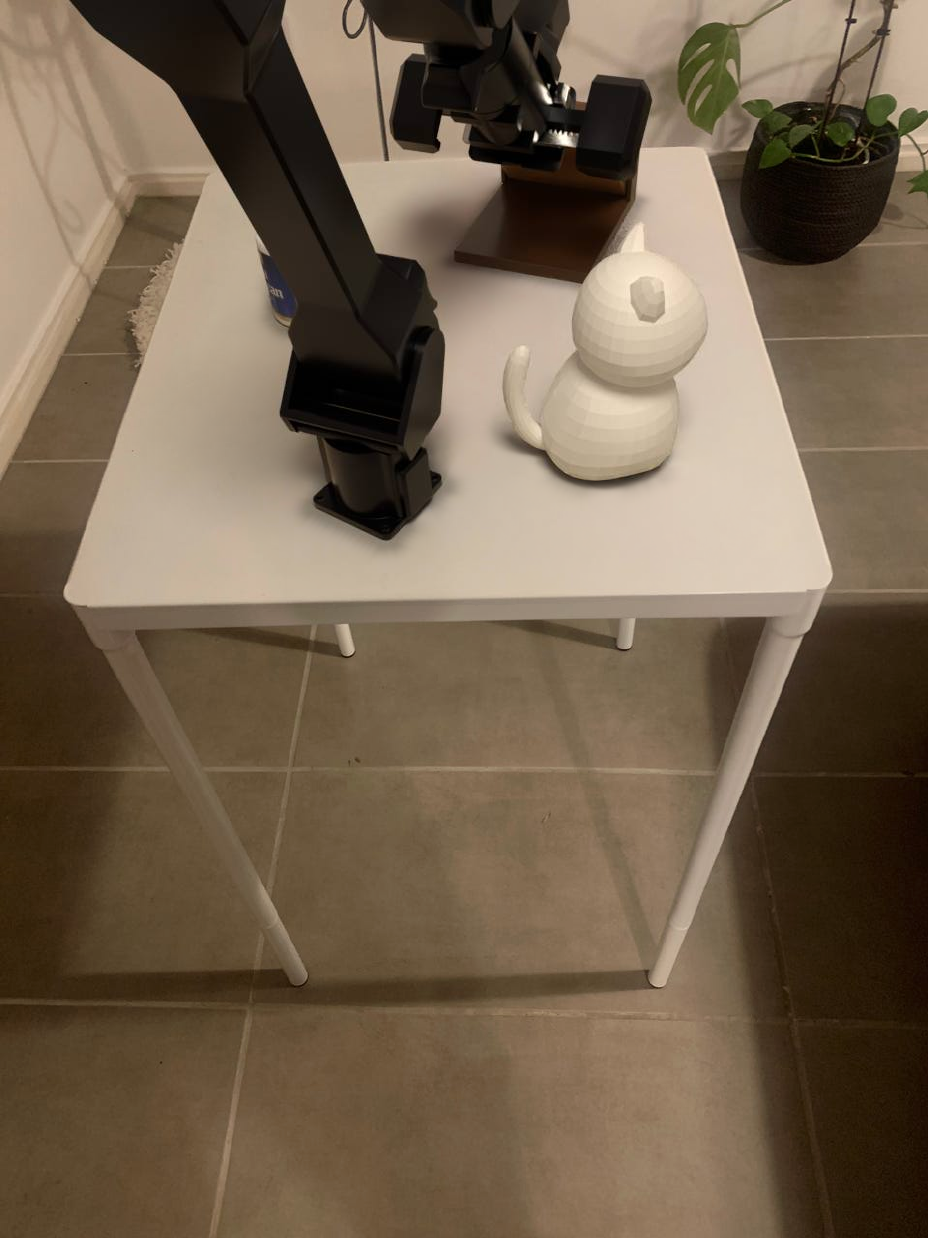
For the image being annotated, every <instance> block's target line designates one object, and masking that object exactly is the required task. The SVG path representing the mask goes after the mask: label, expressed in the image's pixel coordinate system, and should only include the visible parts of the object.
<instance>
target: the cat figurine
mask: <svg viewBox="0 0 928 1238" xmlns="http://www.w3.org/2000/svg"><path fill="white" fill-rule="evenodd" d="M708 328H709V315H708V309H707V304H706V302H705V299H704V296H703V293H701V290H700V288H699V287H698V285H697V283H696V282H695V281H694V279H692V278H691V276H690V275H689V274H688V273H687V272H686V271H684V269H682V268H681V267H680V266H679V265H677V264H676V263H675V262H674V261H672V260H671V259H669V258H667V257H665V256H664V255H661V254H659V253H657V252H655V251H654V252H653V251H650V249H649V241H648V234H647V230H646V225H645V224H644V223H643V222H642V221H638V222H637V223H635V224H634V225H633V226H632V227H631V228H630V230H628V232H627V233H626V235H625V236H624V237H623V239H622V241H621V243H620V244H619V246H618V247H617V251H616V253H613V254H610V255H608V256H606V257H605V258H603V259H602V260H601V262H600V263H598V264H597V265H596V266H595V267H594V268H593V269H592V270H591V272H590V273H589V274H588V276H587V277H586V279H585V280H584V282H583V284H582V283H581V286H580V288H579V290H578V292H577V296H576V300H575V303H574V306H573V311H572V317H571V333H572V341H573V344H574V346H575V348H576V350H575V351H574V352H573V353H572V354H571V355H570V356H569V357H568V358H567V359H566V360H565V361H564V362H563V364H562V365H561V367H560V369H559V370H558V372H556V374H555V376H554V379H553V381H552V382H551V384H550V386H549V388H548V391H547V393H546V395H545V398H544V400H543V401H542V406H541V410H540V414H539V416H540V424H538V423H537V422H536V421H535V419H534V417H533V416H532V415H531V412H530V411H529V408H528V405H527V402H526V395H525V394H526V393H525V387H526V386H525V384H526V380H527V375H528V371H529V367H530V366H529V365H530V361H531V351H530V348H529V347H528V346H527V345H525V344H519V345H518V346H516V347H515V348H513V350H512V351H511V352H510V354H509V355H508V358H507V360H506V362H505V365H504V368H503V369H504V370H503V373H502V374H503V376H502V386H501V387H502V388H501V389H502V396H503V402H504V406H505V409H506V412H507V415H508V417H509V420H510V423H511V425H512V426H513V428H514V429H515V431H516V433H517V434H518V435H519V437H520V438H521V439H522V440H523V441H524V442H526V443H527V444H529V445H530V446H532V447H534V448H536V449H539V450H542V451H545V452H546V453H547V455H548V456H549V458H550V459H551V461H552V462H553V463H554V464H555V466H556V467H557V468H559V470H561V471H562V472H563V473H564V474H567V475H568V476H571V477H572V478H576V479H579V480H584V481H606V480H613V479H619V478H624V477H629V476H633V475H636V474H640V473H644V472H648V471H651V470H653V469H656V468H658V467H659V466H661V464H663V462H664V461H665V460H666V459H667V458H668V457H669V455H671V452H672V449H673V447H674V444H675V441H676V438H677V435H678V425H679V417H680V399H679V398H680V397H679V391H678V386H677V382H676V380H675V376H676V375H678V374H679V373H680V372H682V371H683V370H684V369H686V367H687V366H688V365H690V363H691V362H692V360H694V358H695V356H696V354H697V353H698V351H699V350H700V348H701V347H702V346H703V344H704V343H705V342H704V341H705V340H706V336H707V333H708Z"/></svg>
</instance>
